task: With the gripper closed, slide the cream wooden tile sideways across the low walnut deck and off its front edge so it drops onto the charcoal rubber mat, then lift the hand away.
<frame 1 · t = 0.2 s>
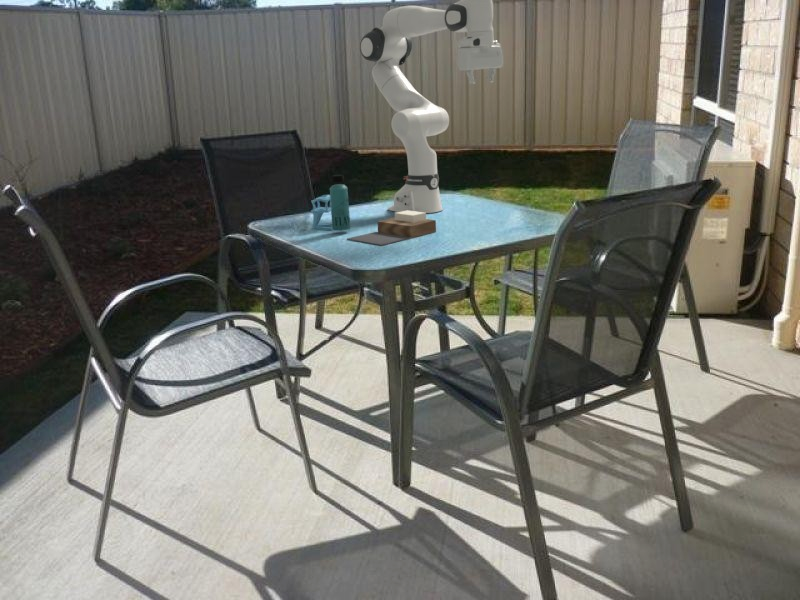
hand: (481, 83, 284), 47 cm above the table, tool pointing down, fingers open, 8 cm apart
charcoal mat: (378, 239, 272), on the table
cream tile: (410, 219, 281), point 4 cm above the table, touching walnut deck
beverage bottle: (341, 233, 285), on the table
walnut deck: (406, 232, 281), on the table
chair: (324, 228, 295), on the table
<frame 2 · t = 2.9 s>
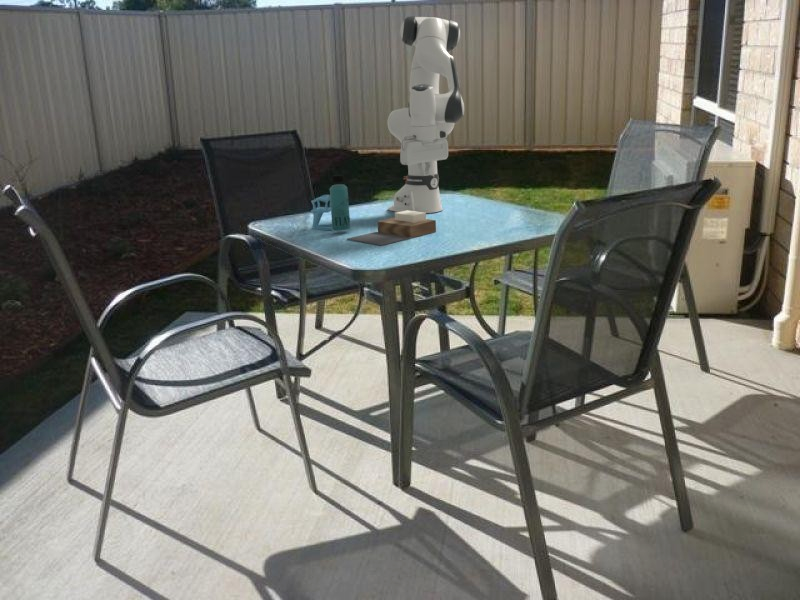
hand: (425, 175, 282), 18 cm above the table, tool pointing down, fingers closed
nothing on the table moved.
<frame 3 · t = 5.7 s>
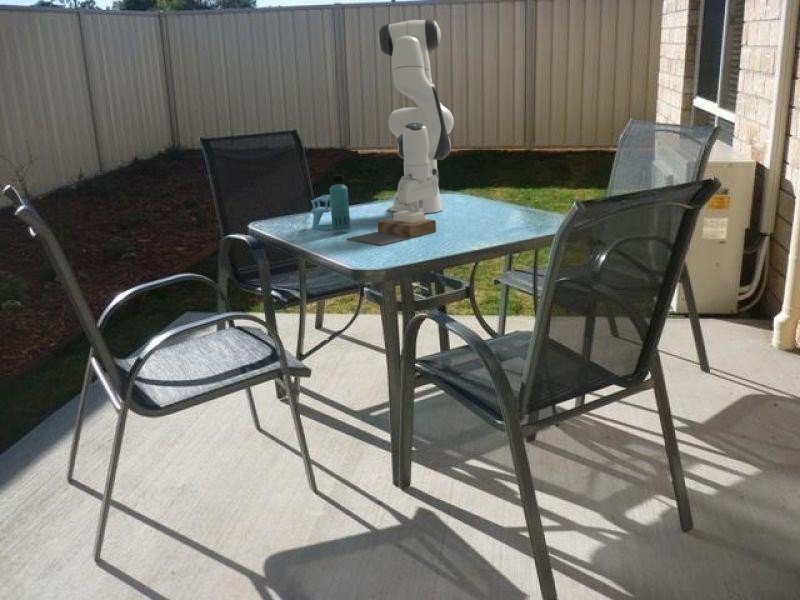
hand: (418, 213, 283), 6 cm above the table, tool pointing down, fingers closed
cream tile: (409, 220, 280), point 4 cm above the table, touching gripper, walnut deck
everything else where it was.
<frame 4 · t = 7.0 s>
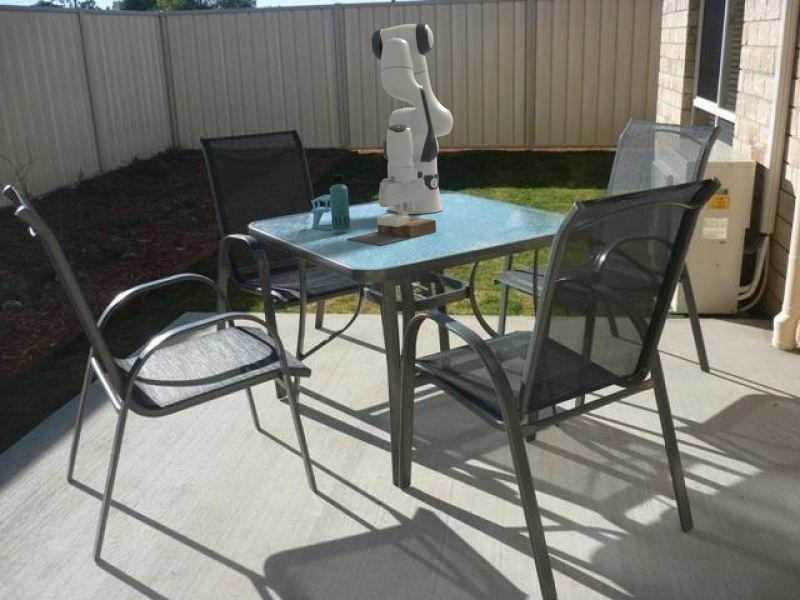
hand: (403, 216, 278), 6 cm above the table, tool pointing down, fingers closed
cream tile: (393, 223, 275), point 4 cm above the table
everything else where it was.
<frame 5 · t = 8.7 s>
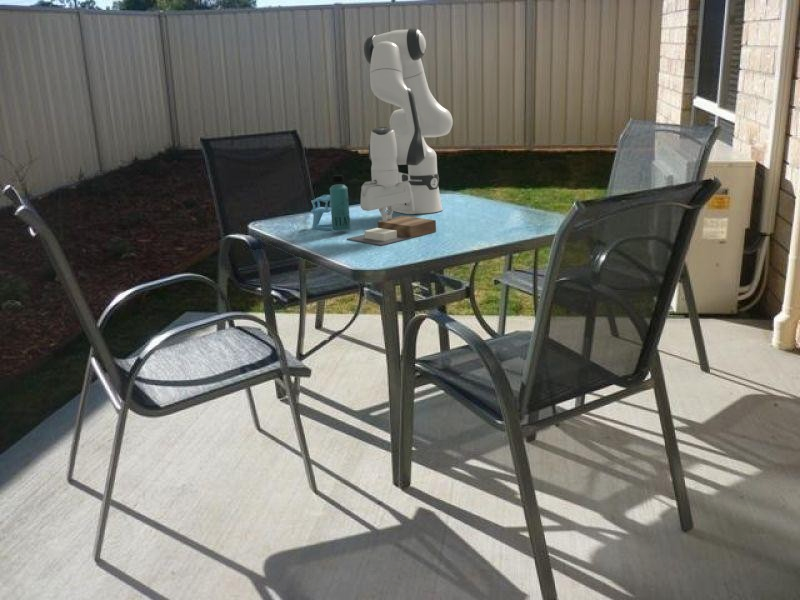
hand: (387, 220, 273), 6 cm above the table, tool pointing down, fingers closed
cream tile: (380, 230, 271), point 3 cm above the table, tilted 180°, touching charcoal mat
everything else where it was.
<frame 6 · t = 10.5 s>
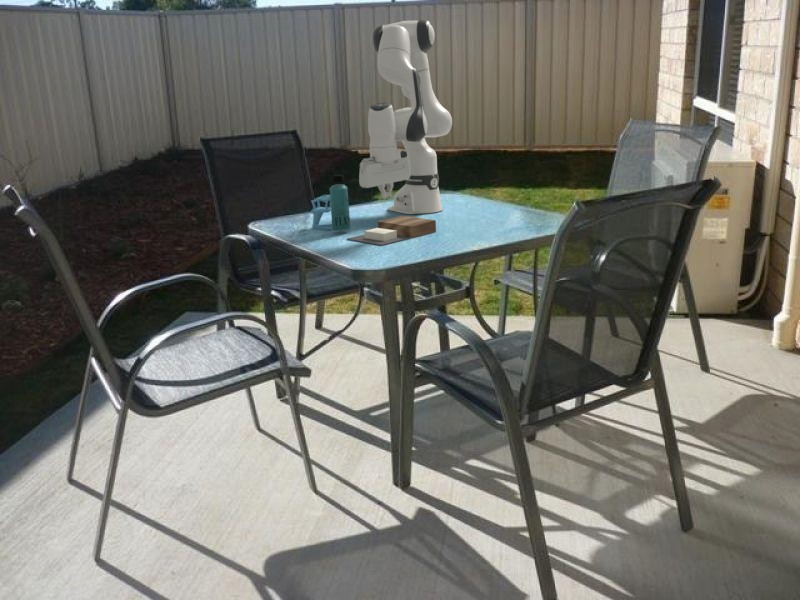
hand: (386, 197, 271), 13 cm above the table, tool pointing down, fingers closed
nothing on the table moved.
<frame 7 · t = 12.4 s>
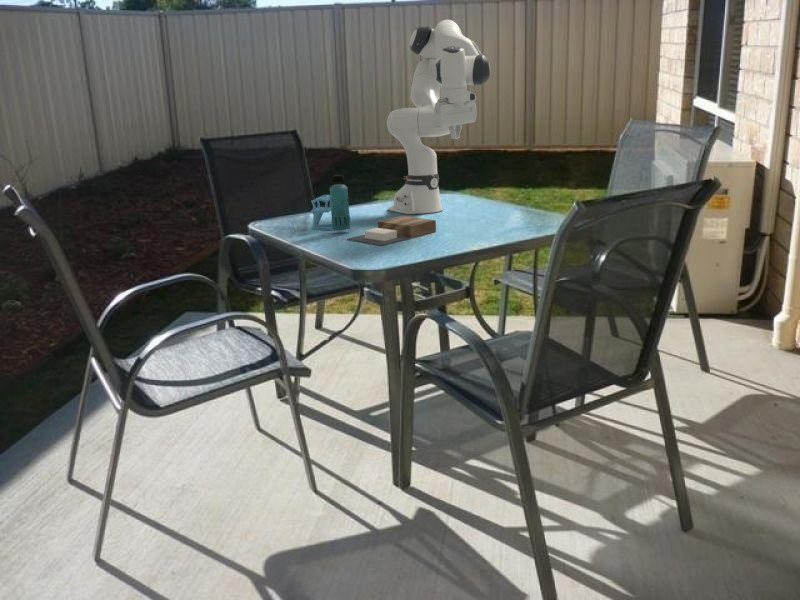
hand: (455, 138, 282), 30 cm above the table, tool pointing down, fingers closed
nothing on the table moved.
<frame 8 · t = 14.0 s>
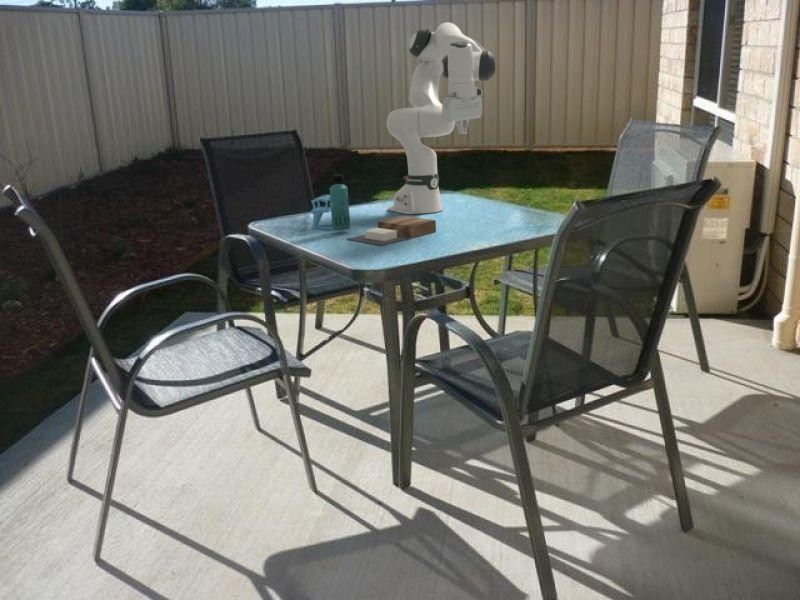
hand: (462, 133, 283), 31 cm above the table, tool pointing down, fingers closed
nothing on the table moved.
at the end: cream tile inside the target area (0.9 cm from its centre), point 2.8 cm above the table; cream tile point 2.8 cm above the table; the gripper is holding nothing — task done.
